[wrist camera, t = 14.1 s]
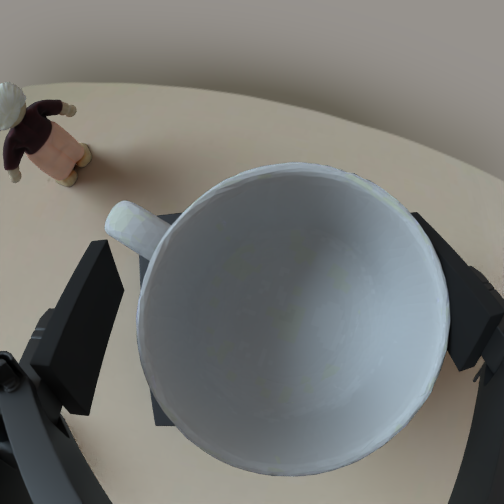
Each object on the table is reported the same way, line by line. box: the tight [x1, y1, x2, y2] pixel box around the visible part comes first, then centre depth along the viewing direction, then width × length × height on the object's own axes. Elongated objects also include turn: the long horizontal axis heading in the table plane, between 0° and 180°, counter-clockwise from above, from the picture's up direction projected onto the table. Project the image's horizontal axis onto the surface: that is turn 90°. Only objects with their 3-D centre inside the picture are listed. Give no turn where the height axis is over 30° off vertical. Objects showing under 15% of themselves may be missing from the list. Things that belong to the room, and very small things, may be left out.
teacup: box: [105, 162, 450, 476], centre depth 14 cm, size 14×11×8 cm
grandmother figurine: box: [0, 82, 91, 187], centre depth 20 cm, size 8×4×13 cm, turn 156°
